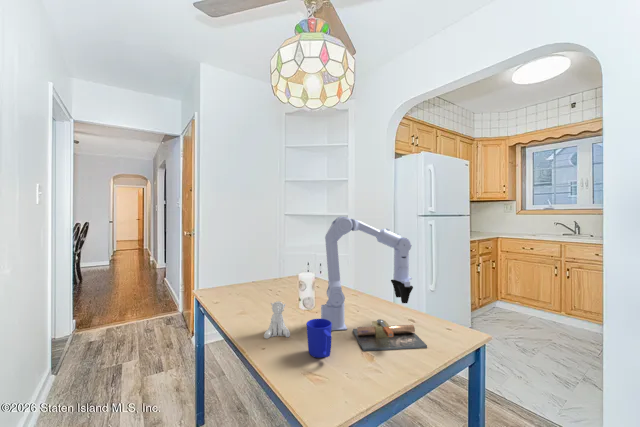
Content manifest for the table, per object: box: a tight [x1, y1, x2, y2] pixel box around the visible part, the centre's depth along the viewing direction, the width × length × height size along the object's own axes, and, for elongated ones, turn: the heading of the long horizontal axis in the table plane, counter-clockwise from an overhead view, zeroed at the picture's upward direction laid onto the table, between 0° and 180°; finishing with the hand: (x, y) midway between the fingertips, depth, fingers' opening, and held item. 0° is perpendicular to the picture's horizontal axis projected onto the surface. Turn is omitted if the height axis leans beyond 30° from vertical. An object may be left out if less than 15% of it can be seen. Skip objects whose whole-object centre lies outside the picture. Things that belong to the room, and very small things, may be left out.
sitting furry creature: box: [263, 301, 291, 340], centre depth 109 cm, size 10×9×12 cm
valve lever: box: [376, 319, 393, 337], centre depth 101 cm, size 12×2×1 cm, turn 6°
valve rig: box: [352, 320, 428, 352], centre depth 104 cm, size 22×16×5 cm
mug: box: [305, 318, 333, 359], centre depth 92 cm, size 8×12×10 cm
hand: (401, 300), depth 117 cm, fingers open, 7 cm apart
